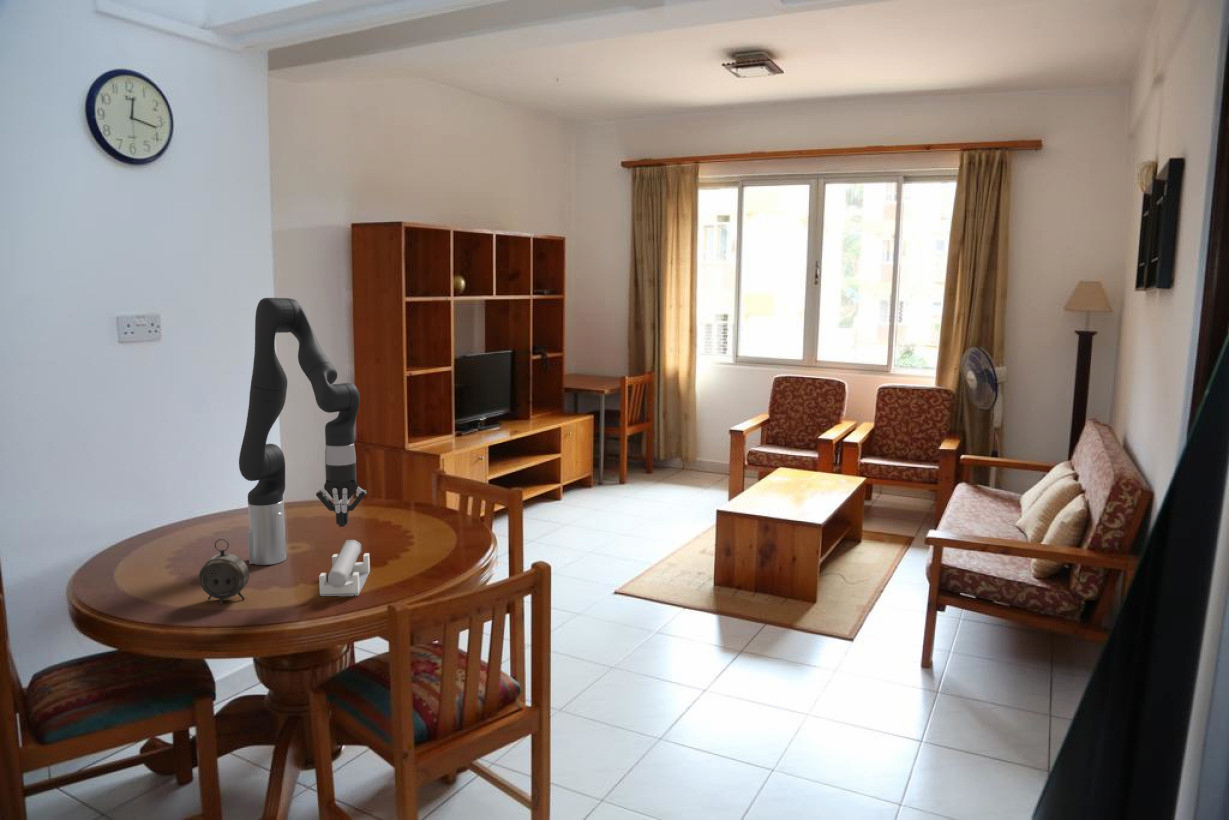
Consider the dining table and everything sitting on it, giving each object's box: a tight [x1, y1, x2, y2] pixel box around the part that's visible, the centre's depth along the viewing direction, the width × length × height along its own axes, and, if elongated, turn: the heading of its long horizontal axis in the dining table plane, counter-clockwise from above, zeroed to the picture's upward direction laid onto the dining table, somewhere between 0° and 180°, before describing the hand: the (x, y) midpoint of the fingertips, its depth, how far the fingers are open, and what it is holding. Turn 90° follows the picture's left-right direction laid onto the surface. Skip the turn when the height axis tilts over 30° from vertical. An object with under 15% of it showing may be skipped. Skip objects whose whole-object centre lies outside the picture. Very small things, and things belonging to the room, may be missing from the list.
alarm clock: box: [198, 538, 250, 605], centre depth 215 cm, size 11×5×16 cm, turn 92°
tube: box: [327, 539, 362, 588], centre depth 228 cm, size 5×5×25 cm
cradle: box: [318, 552, 371, 597], centre depth 228 cm, size 9×17×6 cm, turn 6°
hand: (342, 525), depth 226 cm, fingers closed
